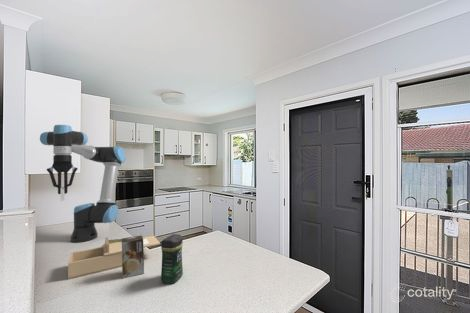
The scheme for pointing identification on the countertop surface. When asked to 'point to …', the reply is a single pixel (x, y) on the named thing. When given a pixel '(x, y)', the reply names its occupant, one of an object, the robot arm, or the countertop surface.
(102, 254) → the box
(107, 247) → the lid
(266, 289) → the countertop surface
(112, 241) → the carton
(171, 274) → the coffee jar
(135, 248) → the coffee box
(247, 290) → the countertop surface
